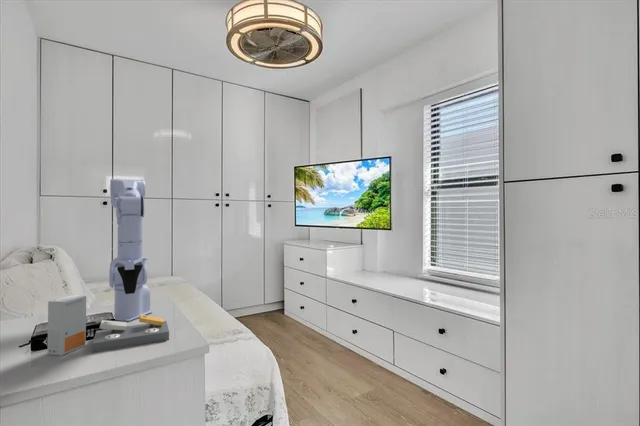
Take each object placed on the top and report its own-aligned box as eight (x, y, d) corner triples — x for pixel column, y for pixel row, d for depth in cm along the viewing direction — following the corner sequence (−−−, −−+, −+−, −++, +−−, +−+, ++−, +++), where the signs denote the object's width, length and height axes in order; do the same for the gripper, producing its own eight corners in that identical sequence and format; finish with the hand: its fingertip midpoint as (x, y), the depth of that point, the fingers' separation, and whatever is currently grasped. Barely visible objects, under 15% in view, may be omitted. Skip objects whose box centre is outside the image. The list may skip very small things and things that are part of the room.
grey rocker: (99, 328, 80) (100, 324, 80) (100, 324, 83) (101, 319, 83) (125, 330, 82) (126, 325, 83) (125, 326, 85) (127, 321, 86)
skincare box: (62, 356, 73) (62, 302, 73) (46, 354, 74) (46, 301, 74) (87, 345, 79) (87, 295, 79) (72, 344, 80) (72, 294, 80)
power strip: (91, 352, 75) (91, 341, 75) (96, 338, 83) (96, 328, 83) (169, 339, 83) (169, 329, 83) (166, 328, 91) (166, 318, 91)
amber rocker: (139, 321, 84) (140, 317, 84) (139, 318, 87) (140, 314, 87) (162, 325, 86) (163, 321, 87) (161, 322, 89) (162, 318, 90)
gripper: (147, 243, 83) (147, 297, 83) (146, 239, 96) (146, 286, 96) (114, 244, 80) (114, 300, 79) (118, 240, 92) (118, 289, 92)
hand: (130, 293), depth 87 cm, fingers closed
